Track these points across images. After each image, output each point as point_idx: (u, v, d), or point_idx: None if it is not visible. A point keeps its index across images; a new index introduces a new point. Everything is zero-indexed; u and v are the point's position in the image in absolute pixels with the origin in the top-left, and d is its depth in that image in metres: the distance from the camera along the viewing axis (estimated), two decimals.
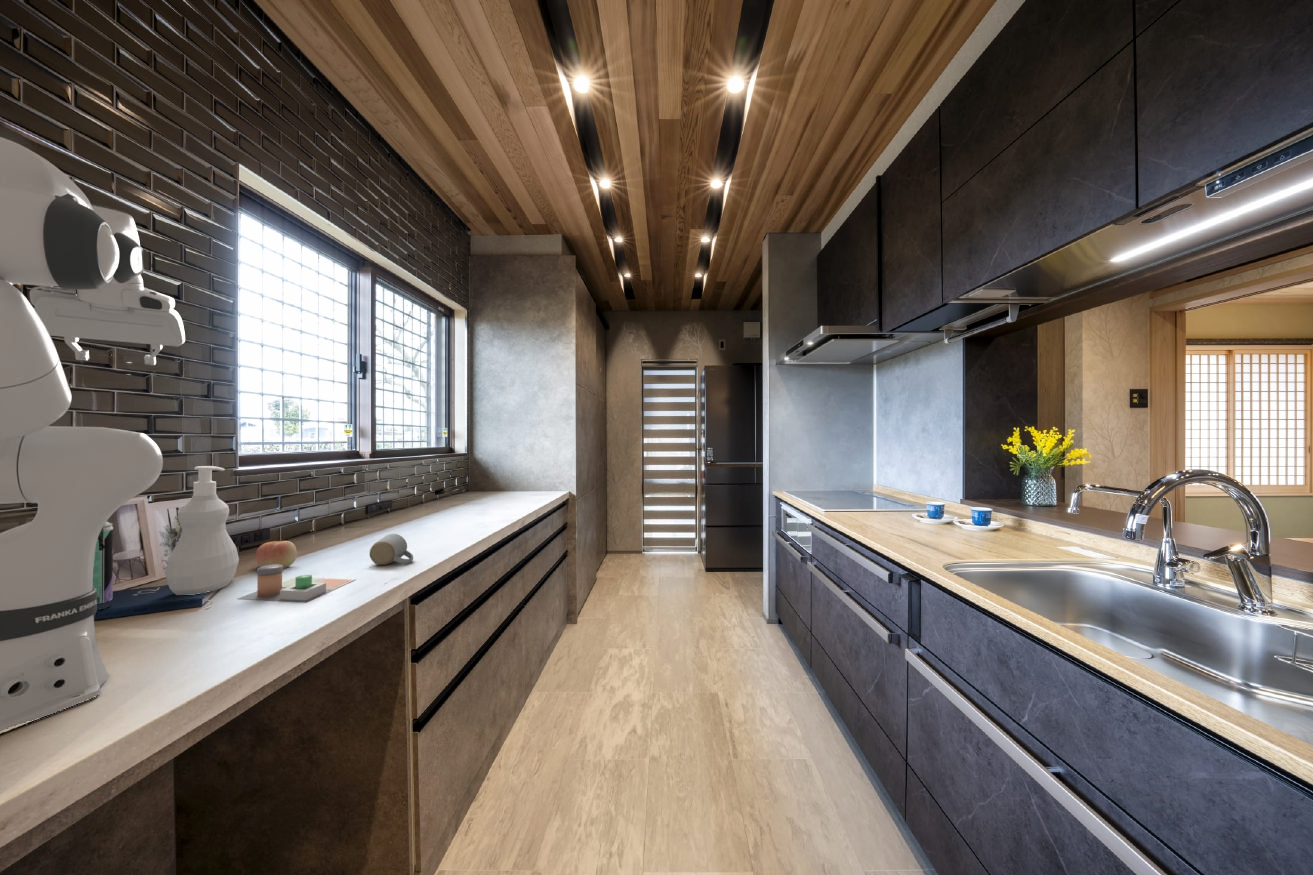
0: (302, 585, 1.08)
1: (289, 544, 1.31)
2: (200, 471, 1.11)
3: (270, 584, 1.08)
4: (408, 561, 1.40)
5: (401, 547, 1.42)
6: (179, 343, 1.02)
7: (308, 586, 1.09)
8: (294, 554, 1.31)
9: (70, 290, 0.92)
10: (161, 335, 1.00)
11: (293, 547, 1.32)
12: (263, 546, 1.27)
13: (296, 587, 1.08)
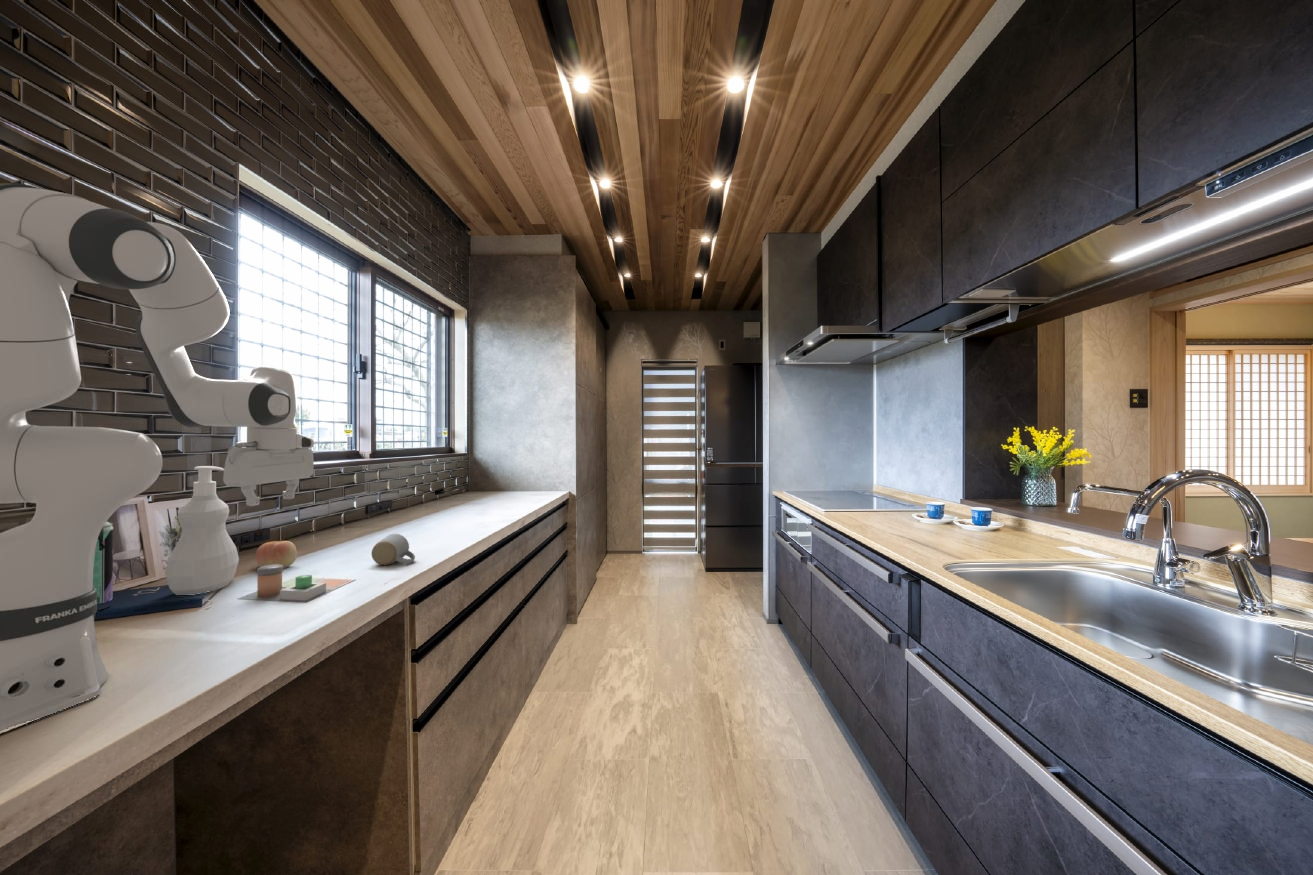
0: (302, 585, 1.08)
1: (289, 544, 1.31)
2: (200, 471, 1.11)
3: (270, 584, 1.08)
4: (409, 562, 1.40)
5: (403, 547, 1.42)
6: (311, 474, 1.19)
7: (308, 586, 1.09)
8: (294, 554, 1.31)
9: (252, 443, 1.04)
10: (303, 469, 1.16)
11: (293, 547, 1.32)
12: (263, 546, 1.27)
13: (296, 587, 1.08)
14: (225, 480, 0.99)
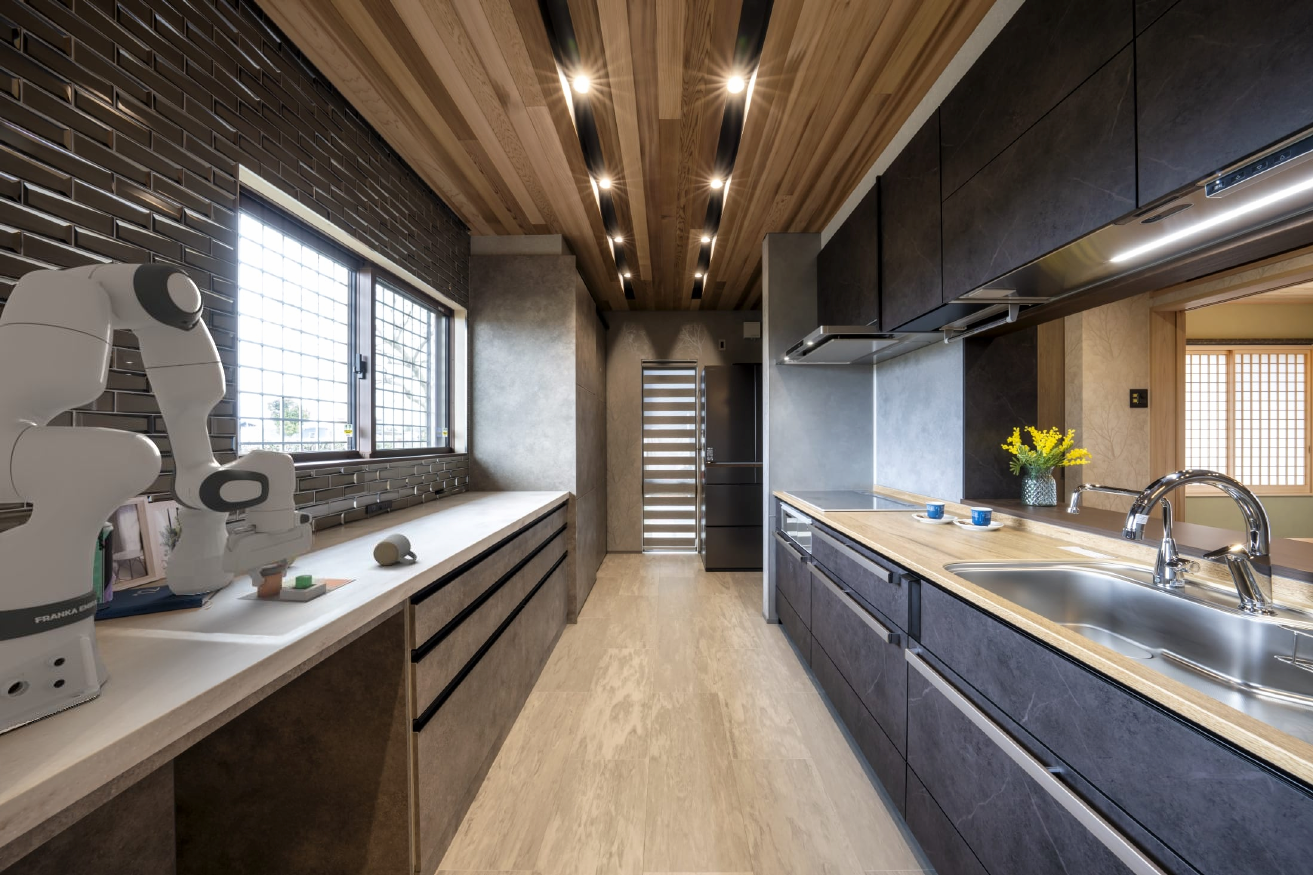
0: (302, 585, 1.08)
1: None
2: None
3: (270, 584, 1.08)
4: (411, 562, 1.40)
5: (405, 547, 1.42)
6: (309, 548, 1.19)
7: (308, 586, 1.09)
8: None
9: (251, 527, 1.04)
10: (301, 545, 1.16)
11: None
12: None
13: (296, 587, 1.08)
14: (223, 567, 1.00)
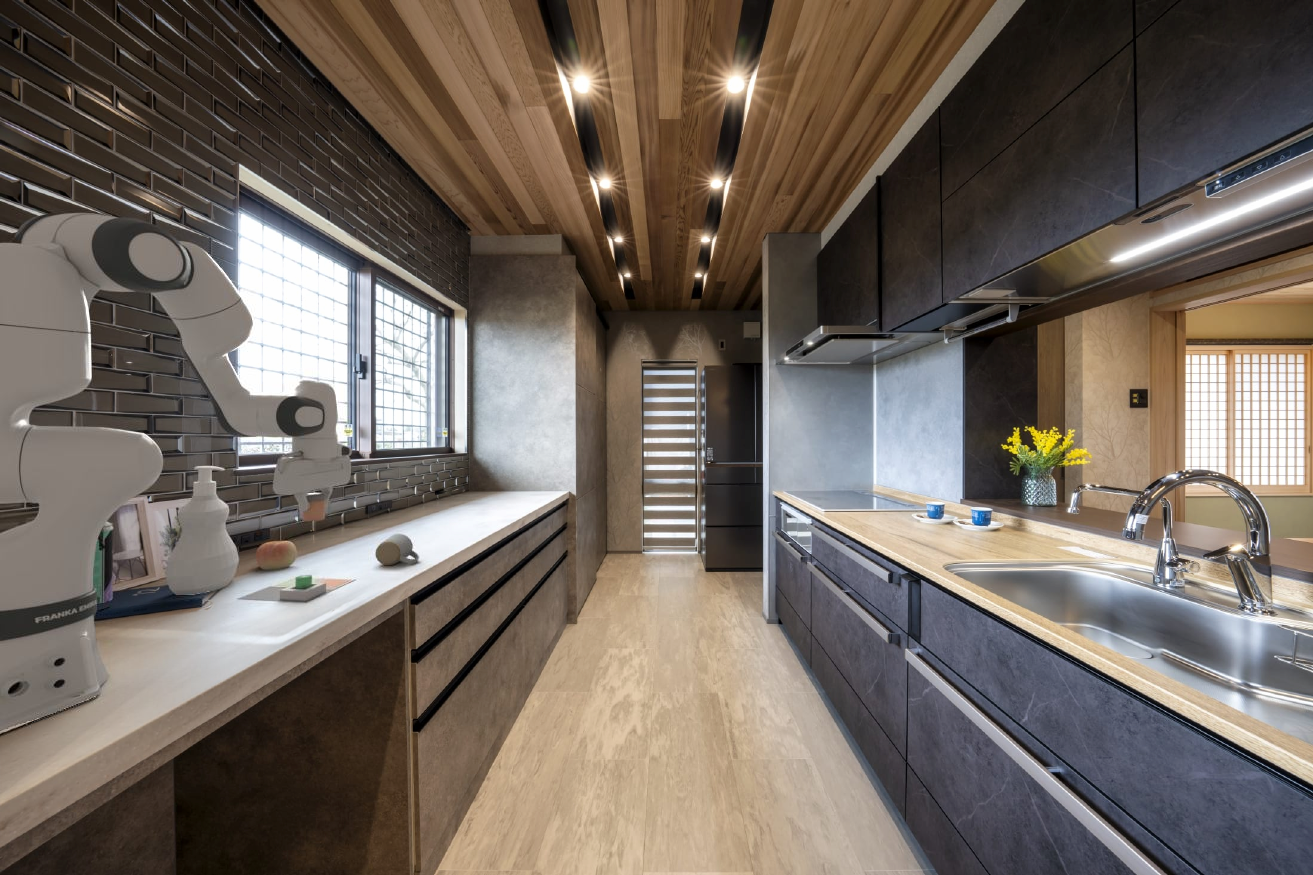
0: (302, 585, 1.08)
1: (289, 544, 1.31)
2: (200, 471, 1.11)
3: (314, 510, 1.13)
4: (413, 562, 1.40)
5: (407, 547, 1.42)
6: (348, 480, 1.24)
7: (308, 586, 1.09)
8: (294, 554, 1.31)
9: (299, 453, 1.09)
10: (342, 476, 1.22)
11: (293, 547, 1.32)
12: (263, 546, 1.27)
13: (296, 587, 1.08)
14: (275, 488, 1.05)
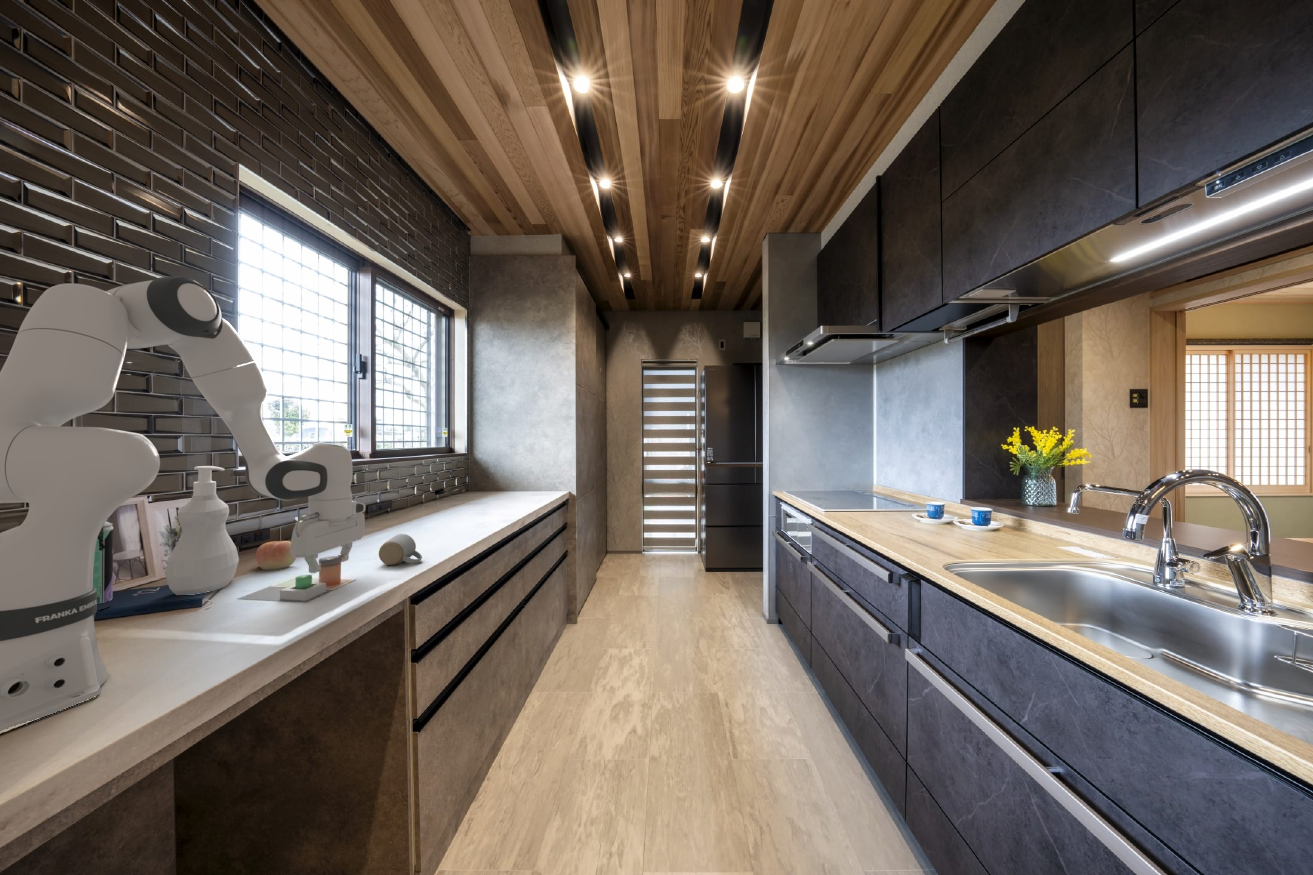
0: (302, 585, 1.08)
1: (289, 544, 1.31)
2: (200, 471, 1.11)
3: (331, 574, 1.16)
4: (416, 562, 1.40)
5: (410, 547, 1.42)
6: (362, 535, 1.27)
7: (308, 586, 1.09)
8: None
9: (315, 515, 1.12)
10: (356, 532, 1.24)
11: None
12: (263, 546, 1.27)
13: (296, 587, 1.08)
14: (292, 552, 1.07)
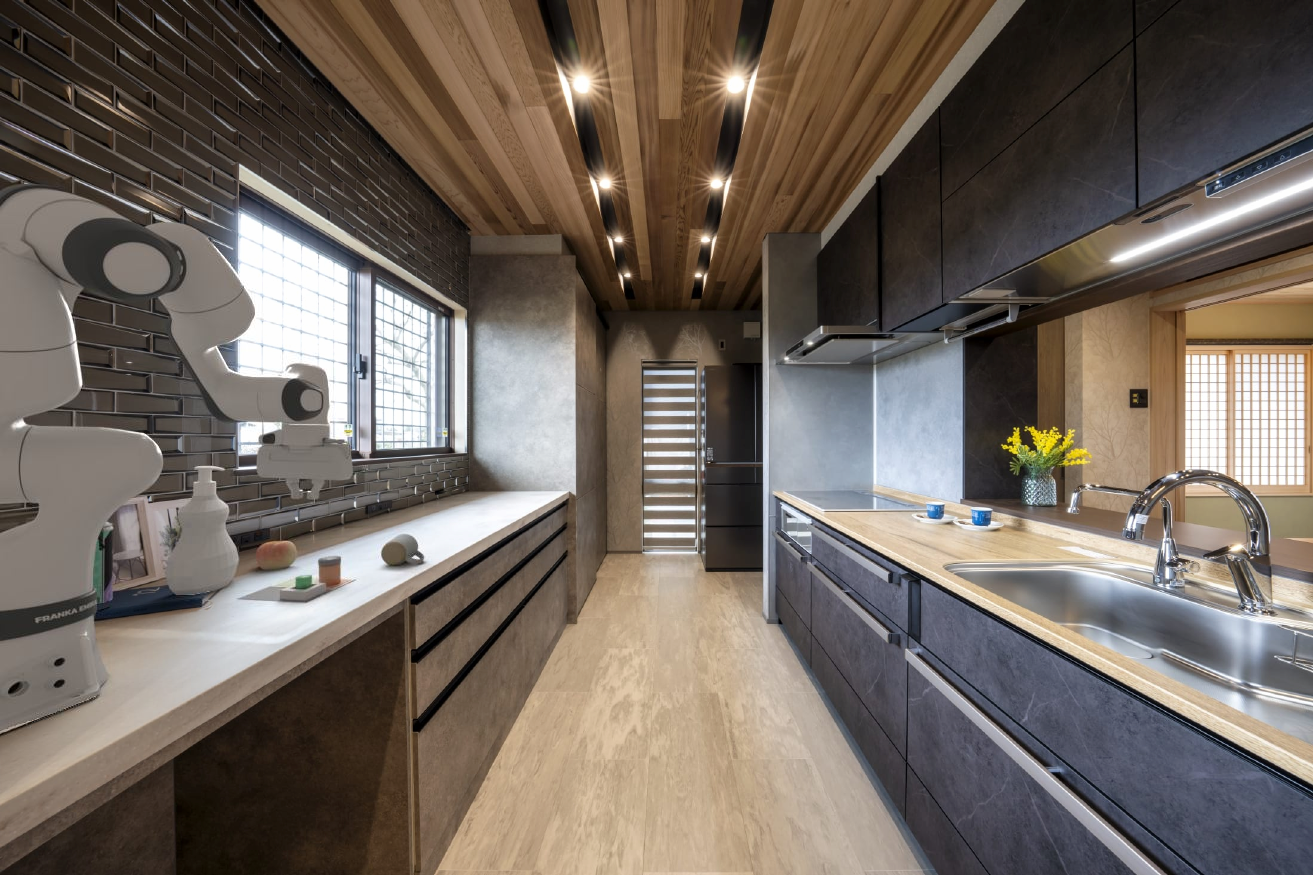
0: (302, 585, 1.08)
1: (289, 544, 1.31)
2: (200, 471, 1.11)
3: (330, 574, 1.16)
4: (419, 562, 1.40)
5: (412, 547, 1.42)
6: None
7: (308, 586, 1.09)
8: (294, 554, 1.31)
9: None
10: None
11: (293, 547, 1.32)
12: (263, 546, 1.27)
13: (296, 587, 1.08)
14: (344, 474, 1.07)
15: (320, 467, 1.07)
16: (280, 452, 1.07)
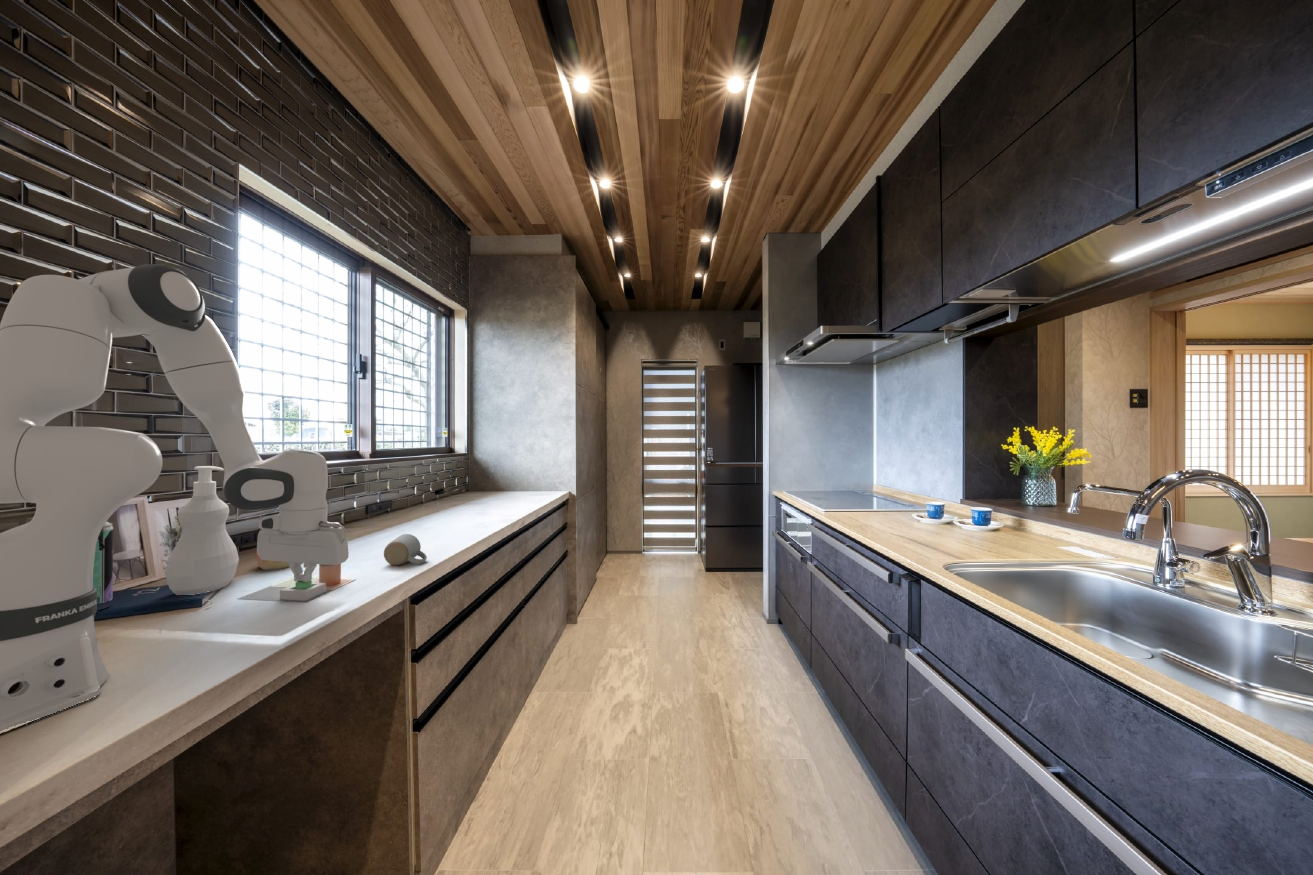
0: None
1: None
2: (200, 471, 1.11)
3: (330, 574, 1.16)
4: (421, 562, 1.40)
5: (415, 547, 1.42)
6: None
7: None
8: None
9: None
10: None
11: None
12: None
13: None
14: (339, 559, 1.07)
15: (316, 551, 1.07)
16: (279, 536, 1.08)
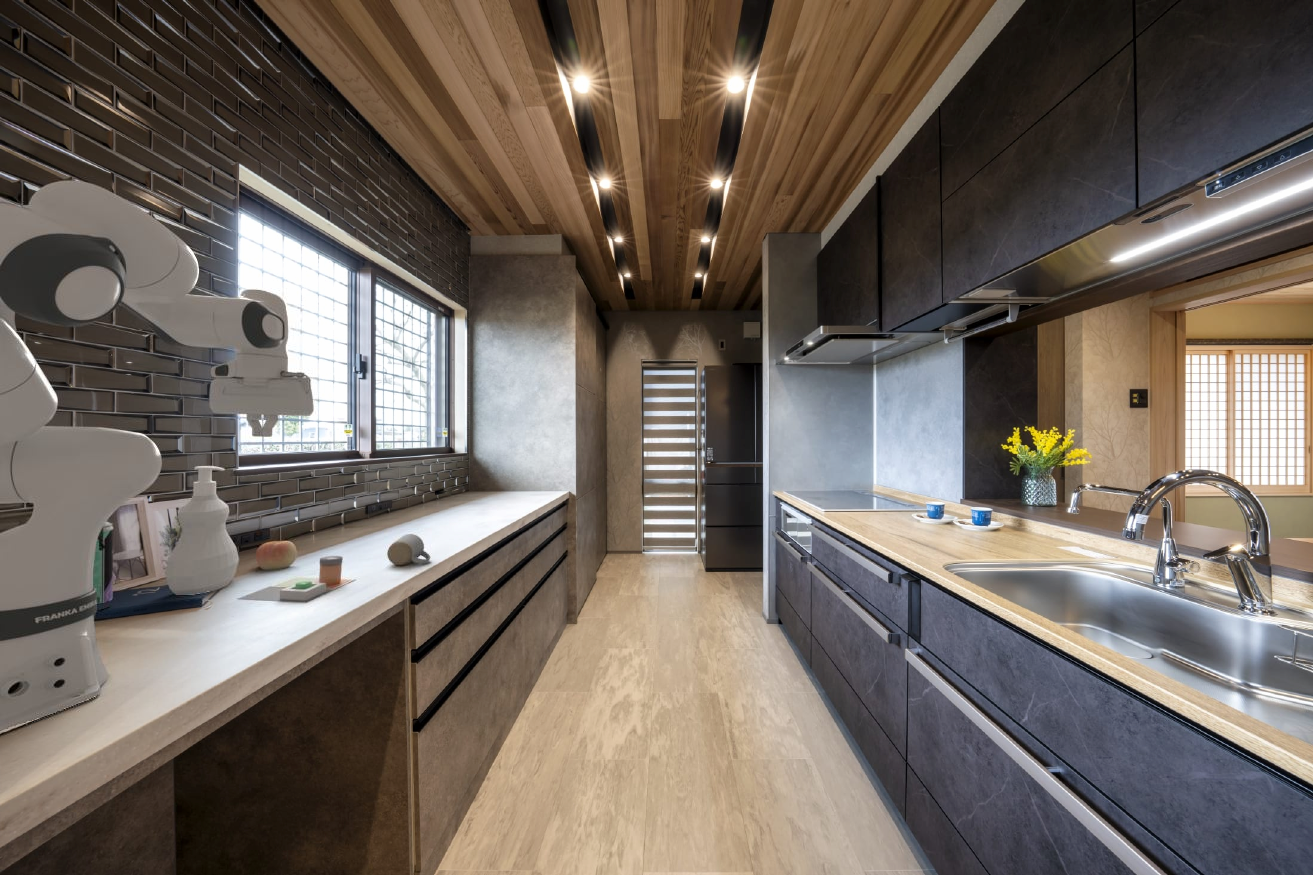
0: None
1: (289, 544, 1.31)
2: (200, 471, 1.11)
3: (328, 574, 1.16)
4: (425, 562, 1.40)
5: (418, 547, 1.42)
6: None
7: None
8: (294, 554, 1.31)
9: None
10: None
11: (293, 547, 1.32)
12: (263, 546, 1.27)
13: None
14: (304, 409, 1.00)
15: (277, 401, 1.00)
16: (235, 386, 1.00)
